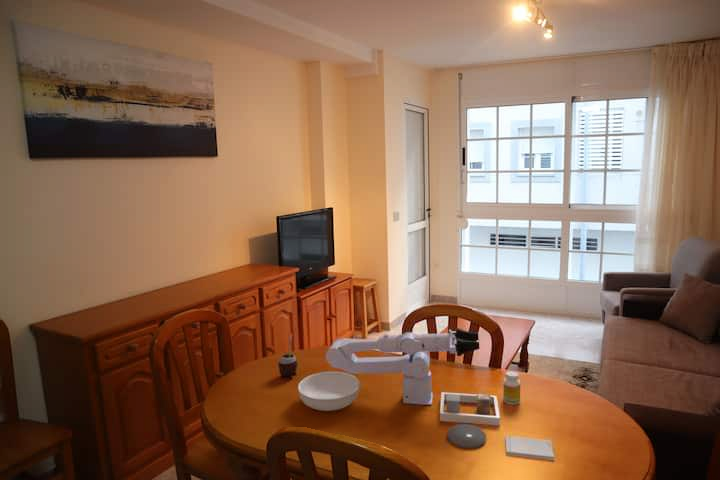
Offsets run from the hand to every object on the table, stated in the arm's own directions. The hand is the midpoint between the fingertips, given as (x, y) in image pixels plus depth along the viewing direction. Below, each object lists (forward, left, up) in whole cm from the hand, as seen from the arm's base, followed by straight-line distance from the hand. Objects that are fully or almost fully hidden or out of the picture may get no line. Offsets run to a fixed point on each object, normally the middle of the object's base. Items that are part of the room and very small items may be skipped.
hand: (478, 340), depth 159 cm
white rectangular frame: (-3, -6, -22) cm, 23 cm away
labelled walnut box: (+1, -6, -22) cm, 23 cm away
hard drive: (+13, -24, -23) cm, 35 cm away
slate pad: (-4, -21, -22) cm, 30 cm away
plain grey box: (-8, -8, -22) cm, 25 cm away
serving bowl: (-49, -7, -22) cm, 54 cm away
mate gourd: (-70, +11, -22) cm, 74 cm away
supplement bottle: (+11, +3, -22) cm, 25 cm away
